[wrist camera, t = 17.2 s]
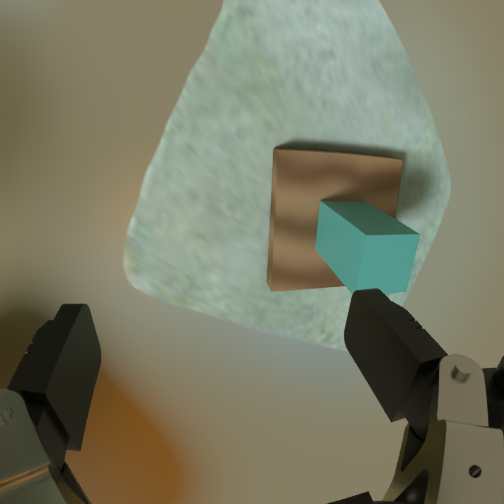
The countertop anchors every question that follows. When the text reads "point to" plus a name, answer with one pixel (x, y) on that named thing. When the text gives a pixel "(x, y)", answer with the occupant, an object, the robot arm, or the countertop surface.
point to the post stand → (307, 207)
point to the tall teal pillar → (365, 246)
